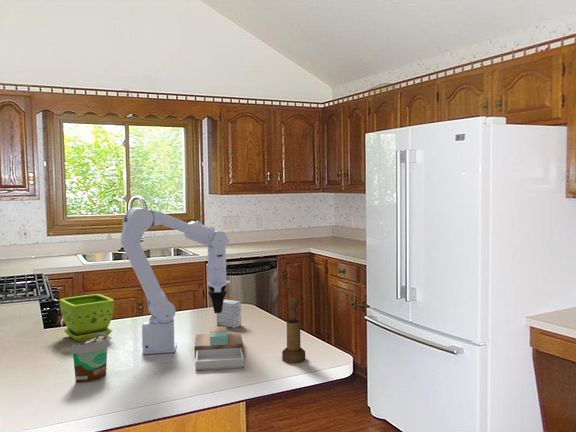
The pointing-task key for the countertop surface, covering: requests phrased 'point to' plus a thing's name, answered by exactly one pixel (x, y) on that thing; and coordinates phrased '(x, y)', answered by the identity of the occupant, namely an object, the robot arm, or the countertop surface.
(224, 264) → the robot arm
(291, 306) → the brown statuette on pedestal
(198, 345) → the walnut board
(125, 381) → the countertop surface
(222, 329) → the terracotta tile
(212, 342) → the teal tile
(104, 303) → the flower pot
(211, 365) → the tray
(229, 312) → the medicine box
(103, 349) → the food container
